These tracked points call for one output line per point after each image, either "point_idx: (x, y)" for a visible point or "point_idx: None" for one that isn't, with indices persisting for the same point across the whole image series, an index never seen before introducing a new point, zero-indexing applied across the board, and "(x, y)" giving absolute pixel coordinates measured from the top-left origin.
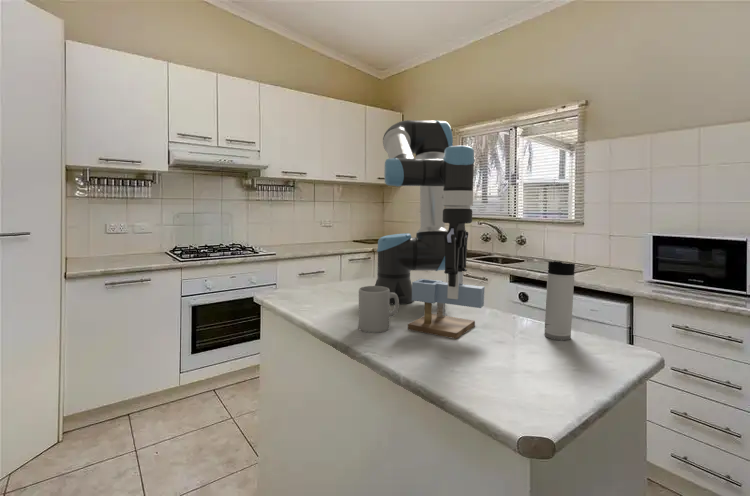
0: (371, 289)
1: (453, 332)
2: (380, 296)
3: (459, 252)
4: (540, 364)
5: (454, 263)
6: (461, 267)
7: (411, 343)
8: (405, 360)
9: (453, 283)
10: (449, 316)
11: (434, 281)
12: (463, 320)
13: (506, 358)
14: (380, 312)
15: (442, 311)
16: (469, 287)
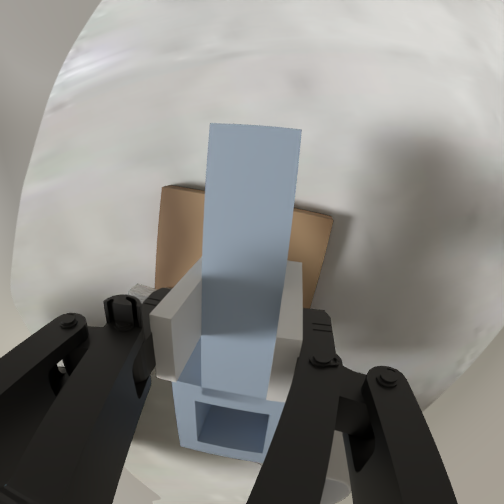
0: None
1: (329, 230)
2: (343, 470)
3: (91, 475)
4: (422, 7)
5: (424, 430)
6: (138, 350)
7: (401, 320)
8: (493, 297)
9: (328, 327)
10: (156, 274)
11: (196, 407)
12: (177, 223)
13: (427, 71)
14: (341, 435)
15: None
16: (292, 216)
